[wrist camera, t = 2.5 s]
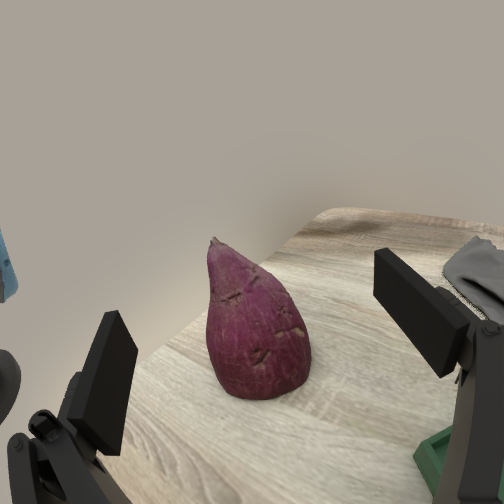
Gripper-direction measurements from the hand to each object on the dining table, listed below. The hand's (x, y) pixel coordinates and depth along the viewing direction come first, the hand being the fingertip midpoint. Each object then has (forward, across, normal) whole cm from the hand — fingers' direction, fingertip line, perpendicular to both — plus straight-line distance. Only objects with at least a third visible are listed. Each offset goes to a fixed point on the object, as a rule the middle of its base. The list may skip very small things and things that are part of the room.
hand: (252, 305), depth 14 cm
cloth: (+11, +32, -15) cm, 37 cm away
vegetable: (+10, 0, -14) cm, 18 cm away
